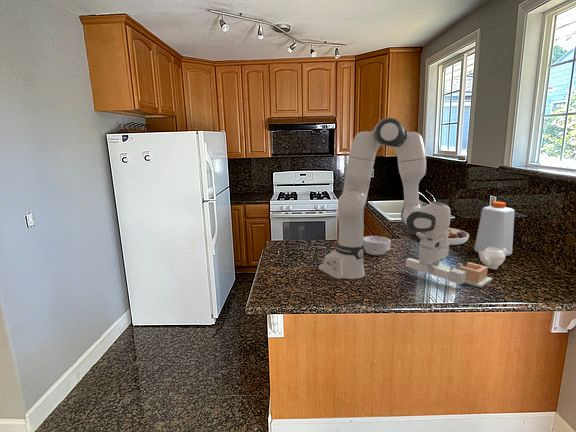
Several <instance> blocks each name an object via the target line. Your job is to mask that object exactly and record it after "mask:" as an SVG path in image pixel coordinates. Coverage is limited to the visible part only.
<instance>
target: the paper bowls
mask: <svg viewBox="0 0 576 432" xmlns="http://www.w3.org/2000/svg"><path fill="white" fill-rule="evenodd" d="M363 244H364V252H366V254H368V255H371V256H383V255H385V254H386V252H388V251H390V250H391V239H390V238H388V237H385V236H378V235H367V236H363Z"/></svg>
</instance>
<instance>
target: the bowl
mask: <svg viewBox="0 0 576 432" xmlns="http://www.w3.org/2000/svg"><path fill="white" fill-rule="evenodd" d="M415 235H416V237H417V238H418V239H419V240H421V239H423V237H424V236H425V235H426V232H415ZM469 238H470V235H469V233H468V232H466V231H464V230H461V229H457V228H452V227H448V242H449V246H458V245H463V244H465V243H466V242H467V241H468V240H469Z"/></svg>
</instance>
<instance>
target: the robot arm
mask: <svg viewBox="0 0 576 432" xmlns="http://www.w3.org/2000/svg"><path fill="white" fill-rule="evenodd" d="M382 146H386V147H392V148H394V149H395V151H396V155H397V156H396V157H397V167H398V173H399V175H400V179H401V182H402V189H403V207H402V210H401V212H400V213H401V214H400V219H401V221H402V223H403V224H404V225H405V226H406V227H407V228H408V230H410V231H412V232H415V233H416V232H426V235H425V236H424V237H423V239H419V246H420V247H419V250H418V251H419V252H418V260H419V263H420V264H423V265H427V267H428V269H427V270H428V271H429V272H432V271H433V267H432V265H433V263H434V265H436V266H438V265H439V264H441V261H442V260H443V259H442V258H444V259H445V258H446V257H448V255H449V252H450V245H449V242H448V228H450V224H451V215H452V214H451V213H452V212H451V207H450V206H449V205H448V204H446V203H443V202H440V201H431V202H430V203H429V204H426V205H425V206H421V205H420V198H419V197H420V191H419V184H420V182H421V180H422V179H423V178H424V176H425V175H426V172H427V156H426V155H427V154H426V147H425V144H424V139H423V137H422V135H421V134H420V133H419V132H417V131H407V130H406V128H405V127H404V125H403V124H402V123H401V122H400V121H399V120H398V119H396V118H393V117H386V118H385V117H384V118H382V119H380V120H379V121H378V122H377V123H376V125H375V126H374V128H372V130H371V131H366V130H365V131H359V132H358V133H356V135H354V137H353V140H352V143H351V146H350V149H349V153H348V159H347V164H346V168H345V172H344V181H343V182H344V183H343V190H342V194H341V195H340V196H339V198H338V200H337V220H338V240H337V241H338V242H336V243H334V244H333V247H335V249H334V250H332V251H331V252H329V253H328V254H326V255H325V256H324V259H323V263H321V264H319V265H318V270H320V271H322V272H323V273H326V274H327V275H329V276H330V277H333V278H334V279H339V280H340V279H345V280H346V279H347V280H356V279H361V278H363V277H365V276H366V272H365V267H364V266H365V264H364V254H365V249H364V244H363V237H365V236H364V233H365V226H364V225H365V224H364V223H365V222H364V221H365V220H364V218H365V217H364V213H365V206H366V204H367V199H368V193H369V191H370V190H369V189H370V183H371V178H372V174H373V170H374V165H375V160H376V155H377V152H378V150H379V148H380V147H382ZM441 259H442V260H441Z"/></svg>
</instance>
